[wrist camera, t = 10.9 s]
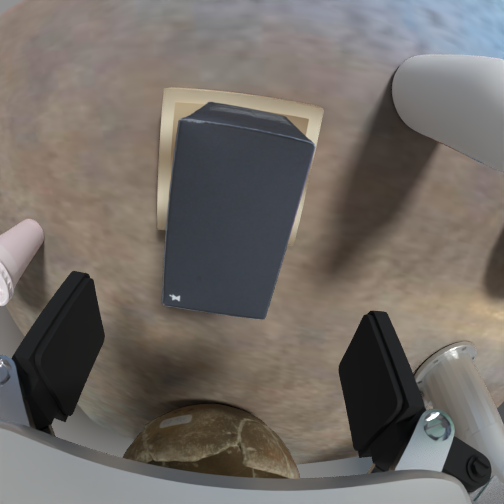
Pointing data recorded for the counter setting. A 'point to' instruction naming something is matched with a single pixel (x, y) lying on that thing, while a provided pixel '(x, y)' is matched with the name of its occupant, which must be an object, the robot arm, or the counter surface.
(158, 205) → the base
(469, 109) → the milk bottle
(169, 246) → the small box
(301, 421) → the counter surface
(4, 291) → the smoothie
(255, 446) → the bowl
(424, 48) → the counter surface
